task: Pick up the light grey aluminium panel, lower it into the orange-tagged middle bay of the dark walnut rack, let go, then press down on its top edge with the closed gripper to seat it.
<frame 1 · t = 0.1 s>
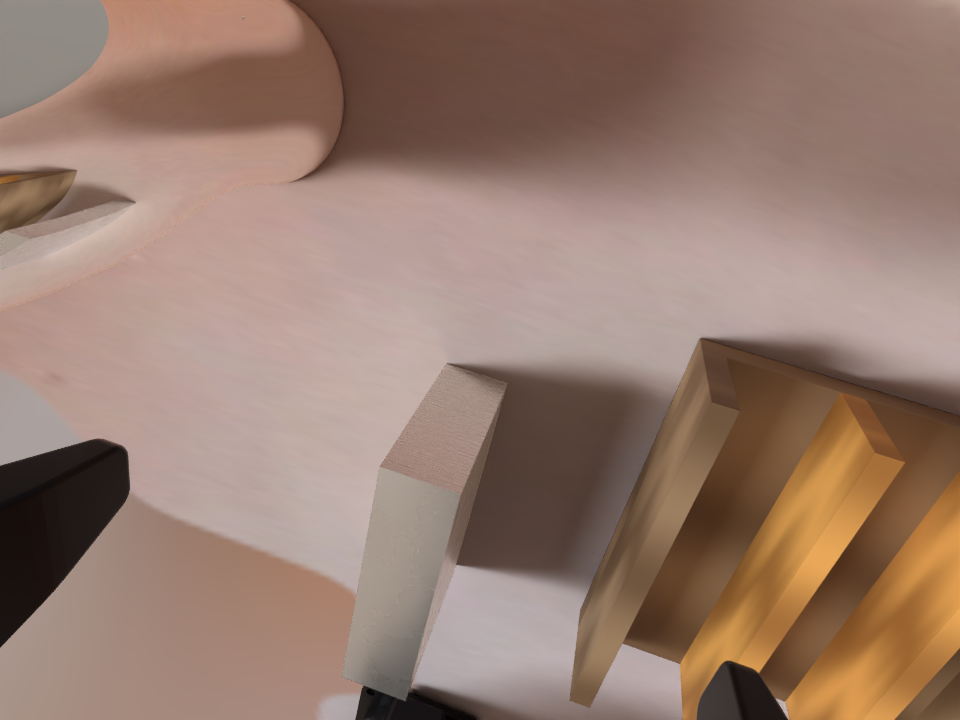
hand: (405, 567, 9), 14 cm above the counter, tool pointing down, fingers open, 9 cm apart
walnut rack: (814, 552, 24), on the counter
aluminium panel: (452, 471, 27), on the counter
beer glass: (265, 90, 21), on the counter
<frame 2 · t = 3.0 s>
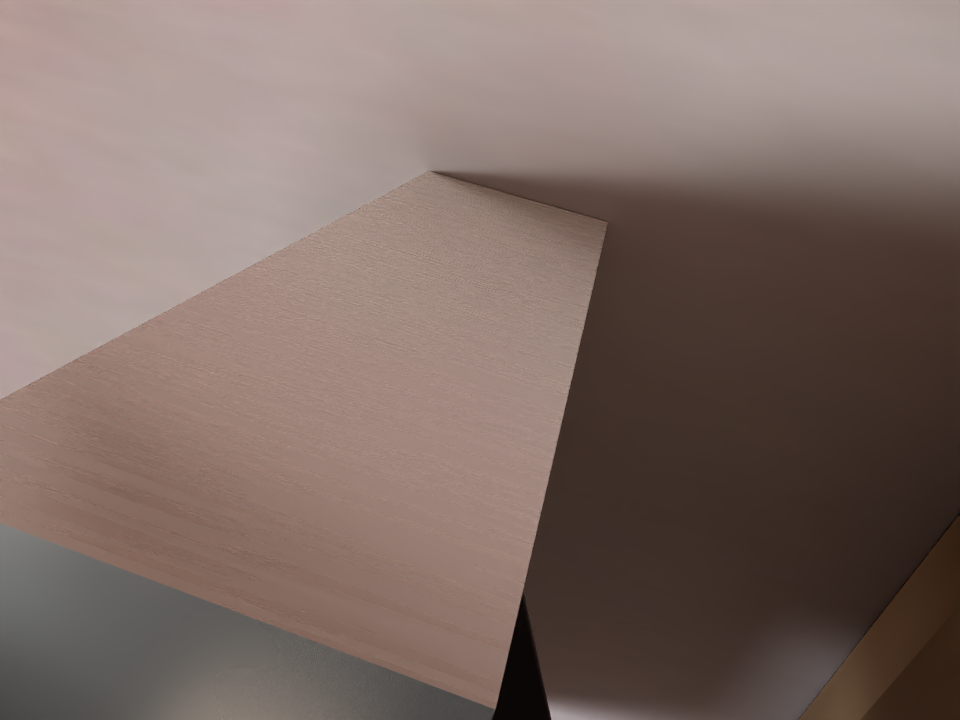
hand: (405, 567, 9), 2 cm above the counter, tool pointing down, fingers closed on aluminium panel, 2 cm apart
aluminium panel: (445, 482, 11), on the counter, touching gripper
when the fingers open (5 cm above the counter, at t = 6.8 s): aluminium panel drops 2 cm, resting on walnut rack.
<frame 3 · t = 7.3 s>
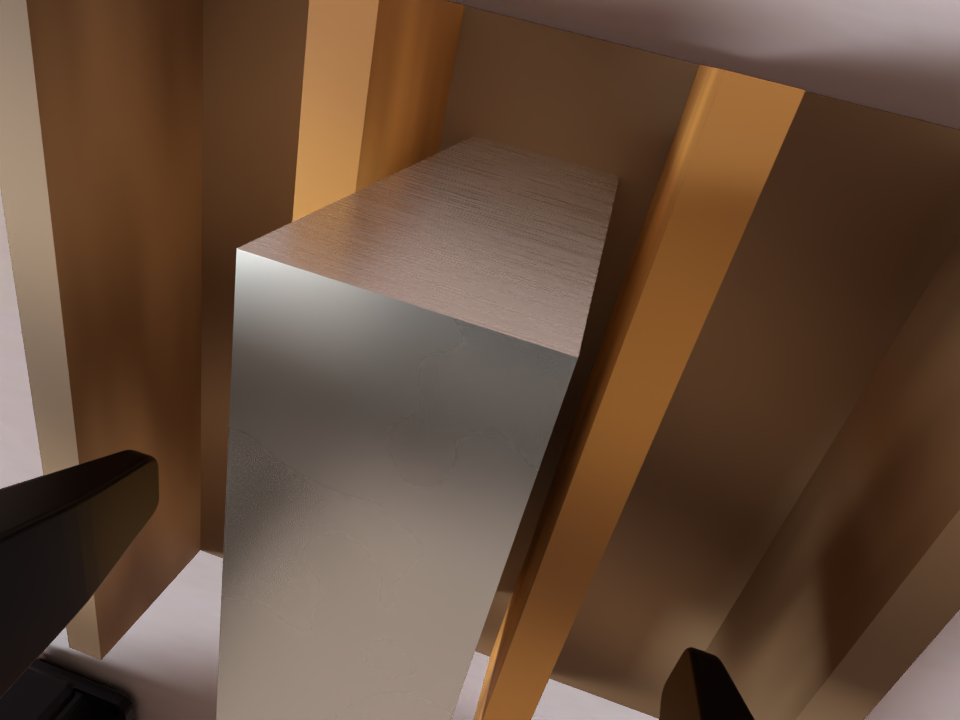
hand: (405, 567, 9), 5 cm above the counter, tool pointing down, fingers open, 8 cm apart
walnut rack: (491, 387, 14), on the counter
aluminium panel: (478, 402, 13), point 1 cm above the counter, touching walnut rack
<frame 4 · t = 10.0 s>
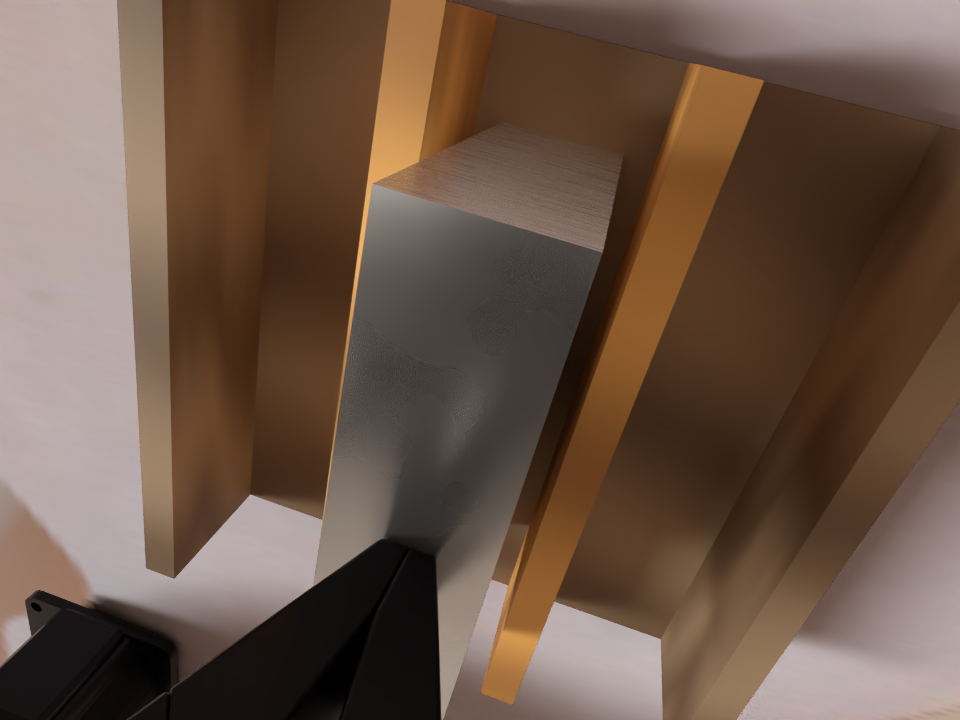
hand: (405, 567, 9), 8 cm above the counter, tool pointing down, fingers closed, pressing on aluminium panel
walnut rack: (511, 342, 16), on the counter
aluminium panel: (502, 352, 15), point 1 cm above the counter, touching gripper, walnut rack
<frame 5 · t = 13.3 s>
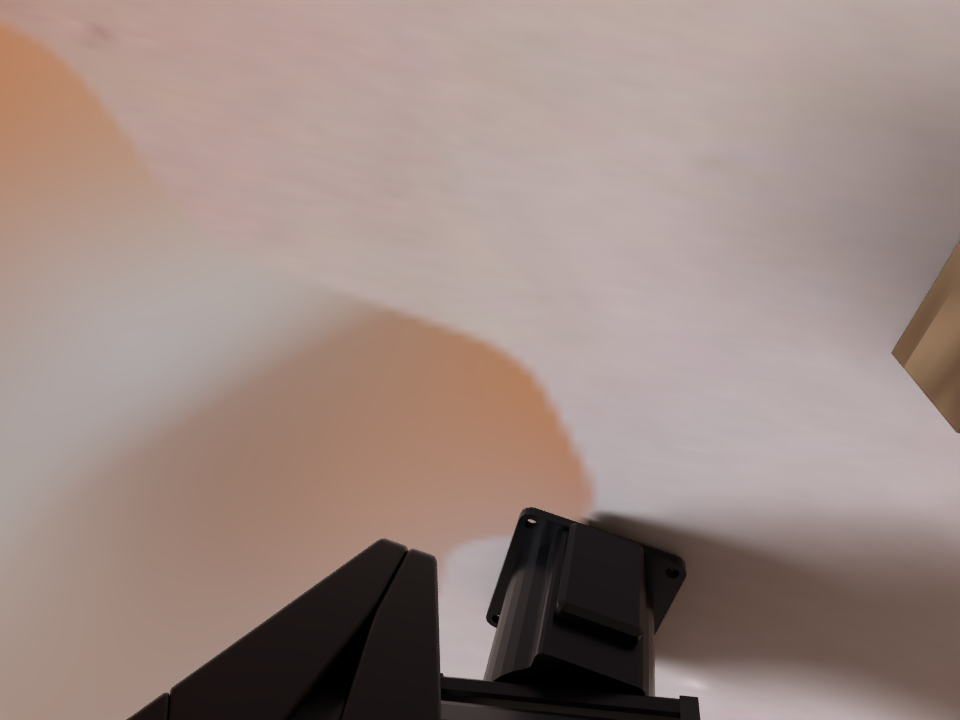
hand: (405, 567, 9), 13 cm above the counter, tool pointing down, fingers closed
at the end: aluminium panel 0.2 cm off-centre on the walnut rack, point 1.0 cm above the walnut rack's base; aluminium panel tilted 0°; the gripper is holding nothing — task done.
